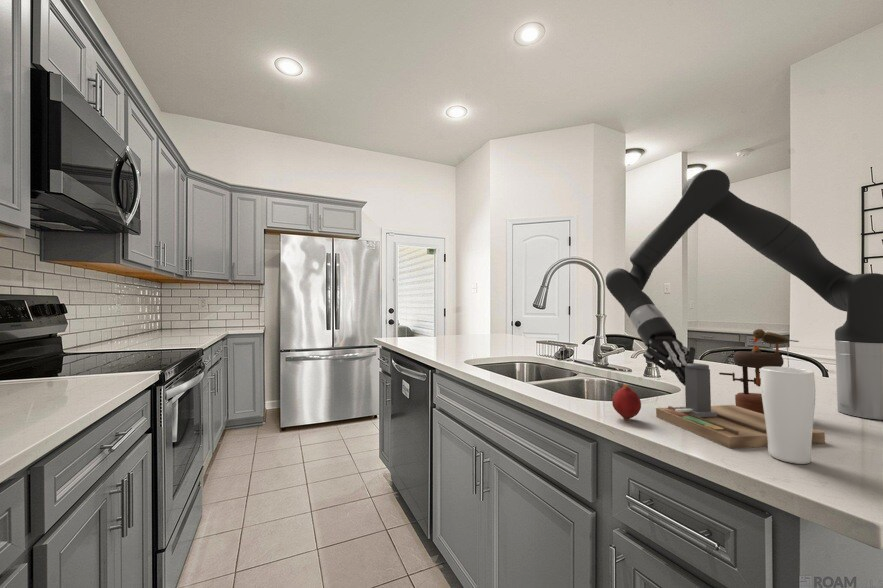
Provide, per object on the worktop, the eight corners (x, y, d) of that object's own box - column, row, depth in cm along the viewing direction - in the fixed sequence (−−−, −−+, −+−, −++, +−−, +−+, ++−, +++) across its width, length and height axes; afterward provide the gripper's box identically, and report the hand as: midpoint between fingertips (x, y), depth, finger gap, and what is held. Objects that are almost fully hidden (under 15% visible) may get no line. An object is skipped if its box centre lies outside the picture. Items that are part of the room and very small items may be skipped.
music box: (794, 411, 90) (791, 329, 90) (810, 423, 80) (807, 332, 81) (716, 403, 97) (714, 327, 98) (723, 413, 88) (720, 329, 89)
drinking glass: (760, 458, 62) (758, 369, 63) (764, 447, 67) (762, 364, 67) (817, 471, 57) (814, 374, 58) (817, 458, 62) (814, 369, 63)
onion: (628, 414, 87) (627, 380, 87) (647, 422, 81) (646, 386, 82) (607, 416, 86) (606, 382, 86) (625, 424, 80) (624, 387, 80)
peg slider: (698, 409, 83) (696, 362, 83) (717, 416, 78) (715, 366, 78) (668, 410, 82) (667, 363, 82) (685, 417, 77) (684, 367, 78)
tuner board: (733, 413, 88) (732, 402, 88) (825, 443, 69) (824, 429, 69) (656, 416, 85) (655, 405, 86) (729, 448, 67) (729, 433, 67)
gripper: (634, 316, 92) (671, 374, 79) (682, 315, 93) (726, 373, 81) (621, 335, 97) (654, 393, 84) (667, 335, 99) (707, 391, 86)
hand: (689, 383), depth 83 cm, fingers closed
